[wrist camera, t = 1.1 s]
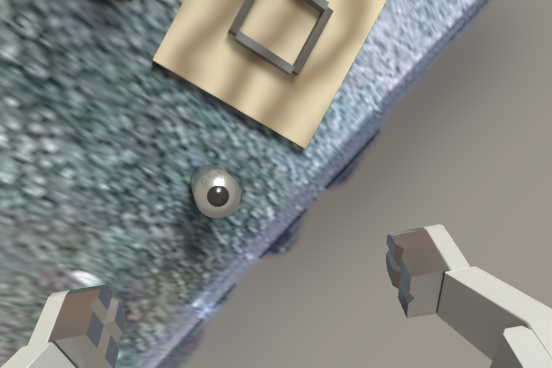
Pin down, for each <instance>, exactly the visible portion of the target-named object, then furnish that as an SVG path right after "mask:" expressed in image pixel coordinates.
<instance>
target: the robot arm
mask: <svg viewBox="0 0 552 368" xmlns="http://www.w3.org/2000/svg"><path fill="white" fill-rule="evenodd" d="M387 245H388V247H389V251H388V252H387V253H386V265H387V271H388V274H389V277H390V280H391V282H392V285H393V286H395V287H396V288H398V289H399V293H398V299H399V301H400V303H401V306H402V308H403V310H404V313H405V315H406V317H407V318H411V317H418V316H424V315H431V314H437V315H438V316H439V317H440V318H441V319H442V320H443V321H445V322H446V323H447V324H448V325H449V326H451V327H452V328H453V329H454V330H456V331H457V332H458V333H459V334H460V335H462V336H463V337H464V338H465V339H466V340H468V341H469V342H470V343H471V344H473V345H474V346H475V347H476V348H477V349H479V350H480V351H481V352H482V353H483V354H485V355H486V356H487V357H488V358H490V359H491V360H492V364H491V366H490V368H552V309H551V308H549V307H547V306H545V305H544V304H542V303H540V302H538V301H536V300H535V299H533V298H531V297H529V296H528V295H526V294H524V293H522V292H520V291H519V290H517V289H515V288H513V287H511V286H510V285H508V284H506V283H504V282H503V281H501V280H499V279H497V278H495V277H494V276H492V275H490V274H488V273H486V272H485V271H483V270H481V269H479V268H478V267H470V266H469V264H468V263H467V261H466V260H465V258H464V257H463V255H462V253H461V252H460V251H459V249H458V248H457V246H456V244H455V243H454V241H453V240H452V238H451V237H450V235H449V234H448V232H447V231H446V229H445V228H444V226H442V225H441V224H439V225H434V226H428V227H423V228H416V229H411V230H406V231H401V232H395V233H390V234H388V236H387ZM112 293H113V291H112V290H111V289H110V287H109V286H108V285H101V286H94V287H88V288H81V289H74V290H69V291H63V292H57V293H53V294H52V295H51V296H50V297H48V299H47V302H46V304H45V306H44V309H43V311H42V313H41V315H40V318H39V320H38V322H37V325H36V327H35V329H34V332H33V334H32V336H31V339H30V341H29V343H28V346H26V347H22V348H21V349H20V350H19V351H18V352H17V353H16V354H14V355H13V356H12V357H11V358H10V359H9V360H8V361H7V362H6V363H5V364H4V365H3V366H2V367H1V368H115V365H116V361H117V357H118V352H119V348H120V347H119V346H118V344H117V342H116V341H117V339H118V338H119V337H120V336H121V335H122V334H123V330H124V325H125V315H124V311H123V307H122V305H121V304H120V302H119V301H117V300H115V299H113V298H111V297H112Z"/></svg>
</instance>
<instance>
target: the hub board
mask: <svg viewBox="0 0 552 368" xmlns="http://www.w3.org/2000/svg"><path fill="white" fill-rule="evenodd" d="M385 2H386V0H184V2H183V3H182V5H181V7H180V9H179V11H178V13H177V15H176V17H175V19H174V20H173V22H172V24H171V26H170V28H169V30H168V32H167V34H166V36H165V37H164V39H163V41H162V43H161V45H160V47H159V49H158V51H157V53H156V54H155V56H154V58H153V61H154V62H155V63H157V64H159V65H161V66H162V67H164V68H166V69H167V70H169V71H171V72H173V73H174V74H176V75H178V76H180V77H181V78H183V79H185V80H186V81H188V82H190V83H192V84H193V85H195V86H197V87H198V88H200V89H202V90H204V91H205V92H207V93H209V94H211V95H212V96H214V97H216V98H217V99H219V100H221V101H223V102H224V103H226V104H228V105H229V106H231V107H233V108H235V109H236V110H238V111H240V112H242V113H243V114H245V115H247V116H248V117H250V118H252V119H254V120H255V121H257V122H259V123H260V124H262V125H264V126H266V127H267V128H269V129H271V130H272V131H274V132H276V133H278V134H279V135H281V136H283V137H285V138H286V139H288V140H290V141H291V142H293V143H295V144H297V145H298V146H300V147H302V148H304V149H306V148H307V146H308V144H309V142H310V140H311V138H312V137H313V135H314V133H315V131H316V129H317V127H318V126H319V124H320V122H321V120H322V118H323V116H324V115H325V113H326V111H327V109H328V107H329V105H330V103H331V102H332V100H333V98H334V96H335V94H336V92H337V91H338V89H339V87H340V85H341V83H342V81H343V80H344V78H345V76H346V74H347V72H348V70H349V69H350V67H351V65H352V63H353V61H354V59H355V57H356V56H357V54H358V52H359V50H360V48H361V46H362V45H363V43H364V41H365V39H366V37H367V35H368V34H369V32H370V30H371V28H372V26H373V24H374V23H375V21H376V19H377V17H378V15H379V13H380V12H381V10H382V8H383V6H384V4H385Z"/></svg>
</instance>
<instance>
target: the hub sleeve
mask: <svg viewBox="0 0 552 368" xmlns="http://www.w3.org/2000/svg"><path fill="white" fill-rule="evenodd" d="M191 189H192V192H193V195H194V199H195V202H196V205H197V207H198V209H199V210H200V211H201V212H202V213H203V214H205V215H206V216H208V217H211V218H223V217H226V216H228V215H230V214H231V213H233V212H234V211H235V209H236V208H237V207H238V205H239V202H240V198H241V192H240V188H239V186H238V184H237V182H236V181H235V180H234V179H233V178H232V177H231V176H230V175H229V174H228V173H227V172H226V171H225V170H224V169H223V168H222V167H220V166H218V165H216V164H205V165H202V166H200V167H199V168H197V169H196V170H195V171H194V173H193V175H192V177H191Z"/></svg>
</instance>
